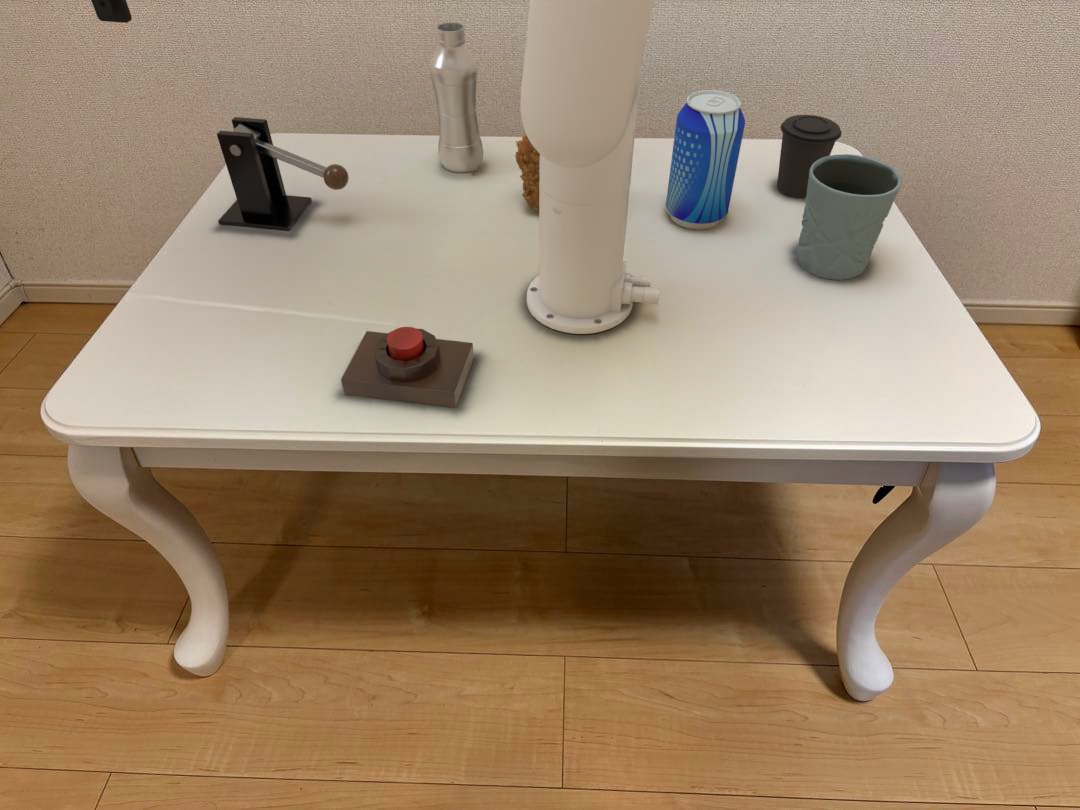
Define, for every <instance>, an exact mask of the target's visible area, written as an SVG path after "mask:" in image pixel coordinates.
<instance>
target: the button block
mask: <svg viewBox="0 0 1080 810" xmlns="http://www.w3.org/2000/svg"><path fill="white" fill-rule="evenodd" d="M415 328H416V327H415ZM416 329H418V330H419V331H420V332H421V333H422V337H423V344H424V352H423V354H422V355H421V356H420V357H418V358H417V359H413V360H409V361H400V360H395V359H393V358H392V357H391V356H390V354H389V348H388V343H387V337H388V335H389V334H390V333H391V332H392V331H393V330H391V331H389V332H380V331H369V330H366V331H365V334H364V335H363V337H362V339H361V341H360V343H359V345H358V346H357V348H356V350H355V352H354V354H353V356H352V358H351V360H350V361H349V363H348V365H347V367H346V369H345V371H344V372H343V375H342V376H341V379H340V382H341V386H342V389H343V393H344V395H346V396H347V395H348V396H353V397H354V396H355V397H362V398H370V399H378V400H387V401H394V402H401V403H409V404H410V403H412V404H418V405H427V406H434V407H440V408H441V407H443V408H449V409H456V408H457V406H458V403H459V402H460V398H461V395H462V392H463V390H464V387H465V384H466V381H467V379H468V376H469V373H470V370H471V368H472V365H473V362H474V359H475V353H474V352H475V351H474V343H473V342H469V341H459V340H452V339H451V340H449V339H442V338H436V336H435V335H434V334H432V333H430V332H428V331H427V330H426V329H424V328H416Z"/></svg>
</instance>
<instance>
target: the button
mask: <svg viewBox="0 0 1080 810" xmlns="http://www.w3.org/2000/svg"><path fill="white" fill-rule="evenodd" d="M418 329H419V328H417V329H416V327H413V326H401V327H397V328H395V329H393V330H391V331H392V332H391V331H390V332H391V333H390V334H389V335H388V337H387V343H388V348H389V354H390V356H391V357H392V358H393V359H395V360H400V361H409V360H413V359H417V358H418V357H420V356H421V355H422V354H423V352H424V344H423V337H422V333H421V332H420V331H419V330H418Z"/></svg>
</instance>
